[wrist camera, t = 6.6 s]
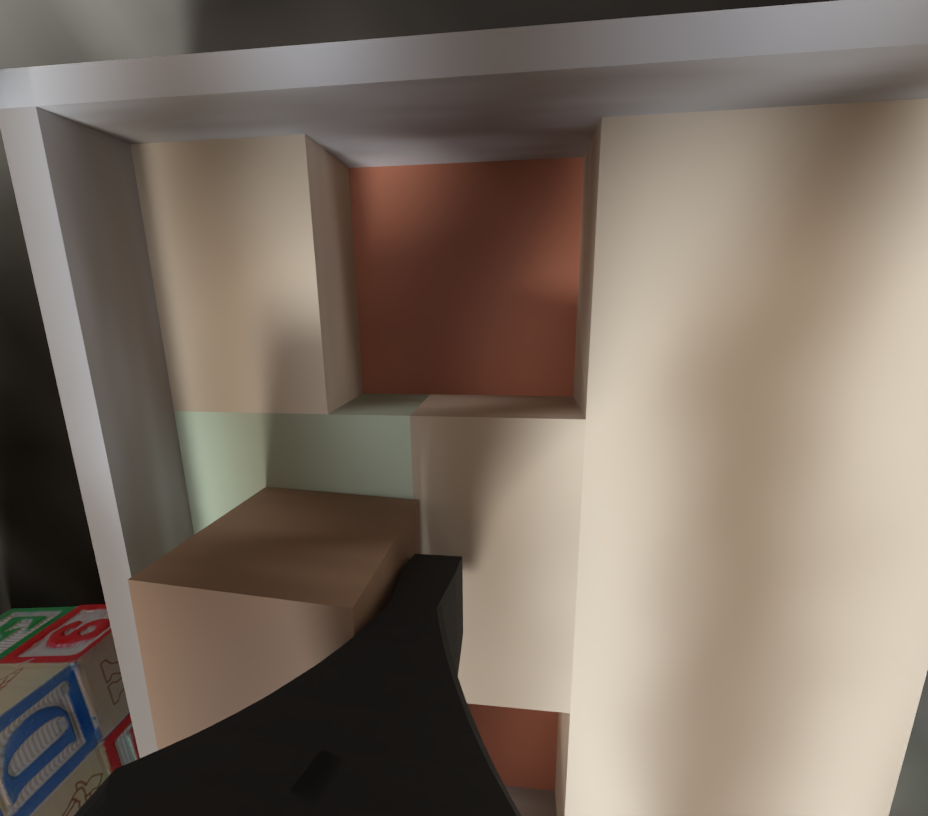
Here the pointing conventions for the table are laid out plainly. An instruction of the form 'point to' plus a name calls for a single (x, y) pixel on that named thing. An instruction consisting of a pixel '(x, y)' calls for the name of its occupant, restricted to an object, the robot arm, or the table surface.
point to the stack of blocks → (59, 709)
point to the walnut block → (264, 599)
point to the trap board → (535, 364)
